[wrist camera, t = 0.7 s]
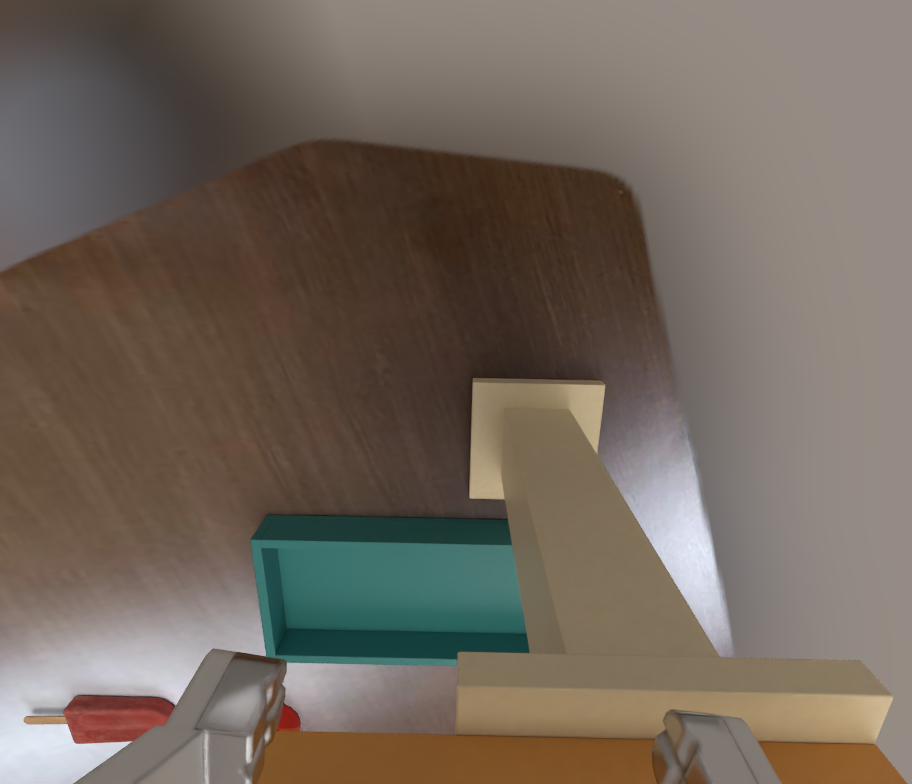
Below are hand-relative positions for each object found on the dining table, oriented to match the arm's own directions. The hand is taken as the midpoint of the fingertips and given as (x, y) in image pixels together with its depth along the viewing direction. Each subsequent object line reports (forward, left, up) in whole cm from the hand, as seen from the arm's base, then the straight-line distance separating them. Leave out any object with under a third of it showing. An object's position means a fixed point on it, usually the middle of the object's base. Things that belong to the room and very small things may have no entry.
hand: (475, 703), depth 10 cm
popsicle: (+25, -46, -29) cm, 59 cm away
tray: (+18, -10, -28) cm, 35 cm away
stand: (+8, +3, -28) cm, 30 cm away
